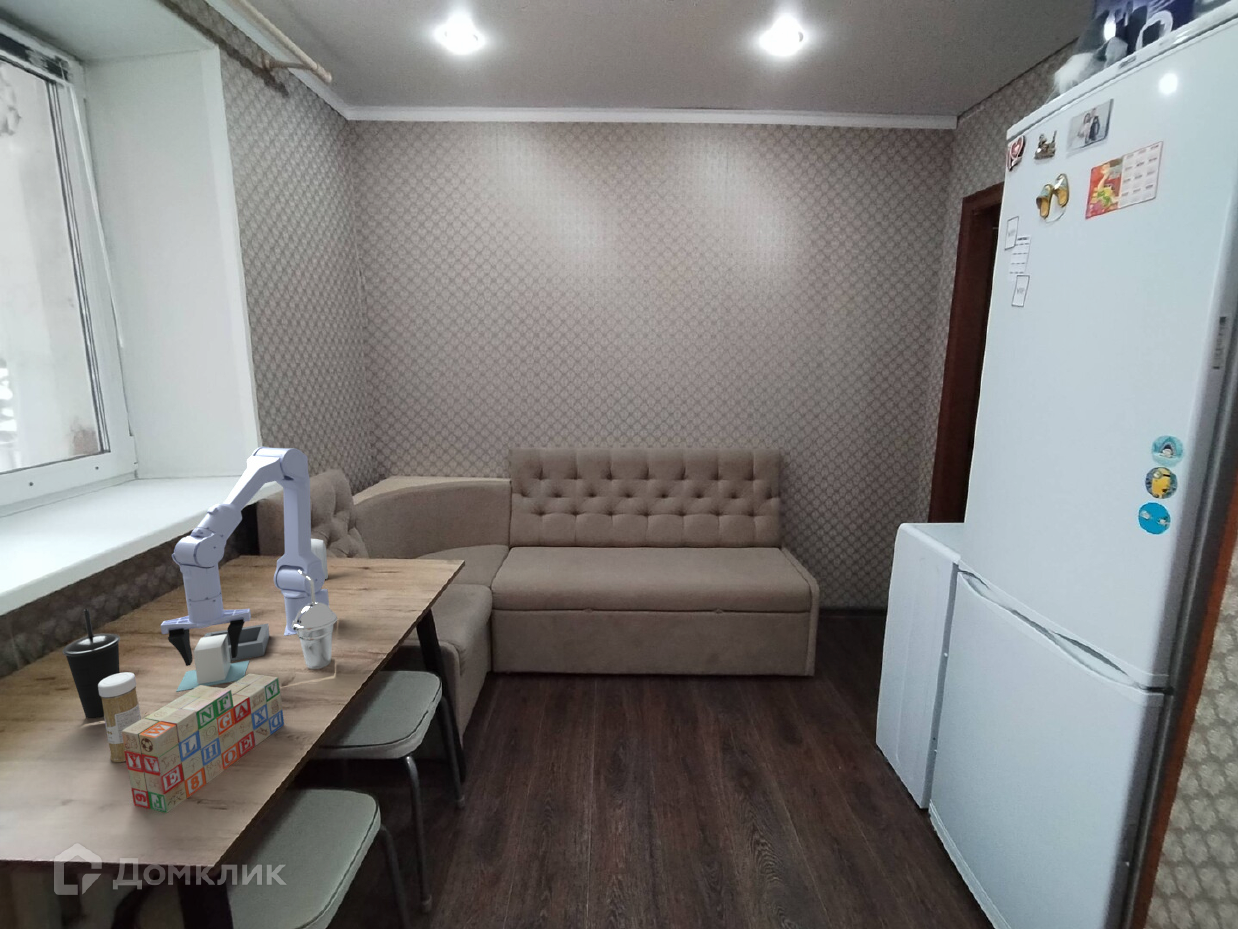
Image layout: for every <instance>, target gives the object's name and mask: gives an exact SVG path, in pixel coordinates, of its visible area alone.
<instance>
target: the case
mask: <svg viewBox="0 0 1238 929" xmlns="http://www.w3.org/2000/svg"><path fill="white" fill-rule="evenodd" d="M269 627H270V626H269V623H261V624H256V625H250V626H249V625H248V626H243V628H242V631H241V634H240V638H239V643H238V654H237V656H236V658H232V656H231V643H230V638H229V634H228V630H227V629H224V630H218V631H211V632H205V634H204V636H203V638H204V637H211V636H217V635H224V634H227V639H228V647H229V655H230V662H235V661H239V660H246V659H250V658H252V659H253V658H258V657H262V656H265V654H266V653H265V652H266V649H267V647H268V642H269V641H270V640H269V639H270V629H269Z"/></svg>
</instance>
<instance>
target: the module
mask: <svg viewBox="0 0 1238 929" xmlns="http://www.w3.org/2000/svg"><path fill="white" fill-rule="evenodd" d="M192 654H193V660H194V668H195V670H196V675H197V682H198V684H203V683H208V682H214V681H219V680H225V678H226V676H227V673H228V671H229V668H230V666H231V661H230V655H229V647H228V639H227V634H224V635H217V636H211V637H204V636H203V637H200V639H199V640H198V642H197V644H196V646H195V648H194V649H193V651H192Z"/></svg>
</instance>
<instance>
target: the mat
mask: <svg viewBox="0 0 1238 929" xmlns="http://www.w3.org/2000/svg"><path fill="white" fill-rule="evenodd" d="M230 663H231V662H230ZM249 663H250V660H243V661H238V662H232V663H231V666H230V668H229V671H228V673H227V676H226V678H225V680H219V681H214V682H208V683H203V684H198V682H197V675H196V669H192V670H186V672H185V673H184V675H183V678H182V680H181V681H180V683H179V685H178V687H177V689H176V691H175V692H176V693H178V692H182V691H188V690H189V691H191V690H193V689H194V688H196V687H198V686H200V685H204V686H209V687H212V686H215V685H221V684H226V683H227V684H228V683H231V682H233V683H234V682H237V681H238V680H240V679H241V678H243V677H244V676H246V673H247V669H248V666H249Z"/></svg>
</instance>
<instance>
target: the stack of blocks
mask: <svg viewBox="0 0 1238 929" xmlns="http://www.w3.org/2000/svg"><path fill="white" fill-rule="evenodd" d="M284 725H285V719H284V710H283V700H282V694H281V689H280V681H279V677H276V676H271V675H265V674H264V675H263V674H257V673H248V674H247V675H246V674H245V675H244V677H243V678H241V679H240V680H238V681H233V683H231V684H229V685H228V686H227V687H225V688H224V687H223V688H222V687H217V686H216V687H215V686H214V687H213V686H204V685H200V686H198V687H196V688H194V689H190V690H189V691H188V692H186V693H183V695H181V696H179V697H177V698H176V699H175V700H172V701H171V702H169V703H168V704H166V705H164V706H162V707H161V708H159V709H158V710H156V711H153V712H152V713H151V714H148V715H147V716H145V717H144V718H141V720H139V721H138V722H136V723H134V724H133V725H131V726H129V727H127V728H126V729H124V730H123V731H122V736H123V741H124V746H125V751H124V753H125V759H126V761H125V764H126V768H127V772H128V777H129V781H130V786H131V787H130V788H131V794H132V799H133V805H134V806H136V807H140V808H145V809H149V810H150V809H151V810H155V811H158V812H161V813H164V814H165V813H166V814H167V813H169V812H171V811H172V810H173V809H174V808H176V807H177V806H178V805H180V804H181V803H183V802H184V801H185V800H186V799H188V798H190V797H191V796H192V795H194V794H195V793H196V792H197V791H199V790H201V789H202V788H203V787H204V786H206V784H208V783H210V782H211V781H213V779H215V778H216V777H218V776H219V775H220V774H221V773H223V772H224V771H225V770H226V769H228V768H229V767H230V766H231V765H233V764H234V763H235V762H237V761H238V760H239V759H241V758H242V757H243V756H245V755H246V754H247V753H248V752H250V751H251V750H253V748H255V747H256V746H258V745H260V744H261V743H262V742H264V741H265V740H266V739H267V738H268V737H270V736H271V735H273V734H274V733H275V732H277V731H279V729H280V728H282V727H283V726H284Z"/></svg>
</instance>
